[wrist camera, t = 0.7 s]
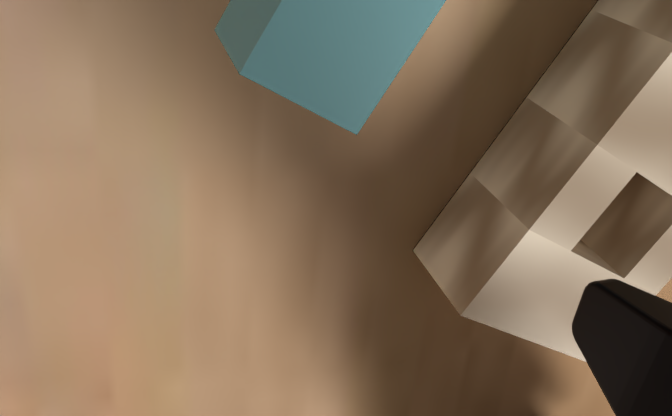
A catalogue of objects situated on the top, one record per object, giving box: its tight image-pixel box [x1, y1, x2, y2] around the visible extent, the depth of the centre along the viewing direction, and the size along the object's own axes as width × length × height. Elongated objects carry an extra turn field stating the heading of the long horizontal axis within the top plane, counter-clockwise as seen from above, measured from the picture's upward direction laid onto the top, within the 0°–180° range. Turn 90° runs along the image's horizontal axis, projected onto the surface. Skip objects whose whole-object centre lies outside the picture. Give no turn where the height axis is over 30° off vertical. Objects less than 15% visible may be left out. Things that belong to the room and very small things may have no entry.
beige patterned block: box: [413, 0, 672, 362], centre depth 23 cm, size 18×8×4 cm, turn 145°
